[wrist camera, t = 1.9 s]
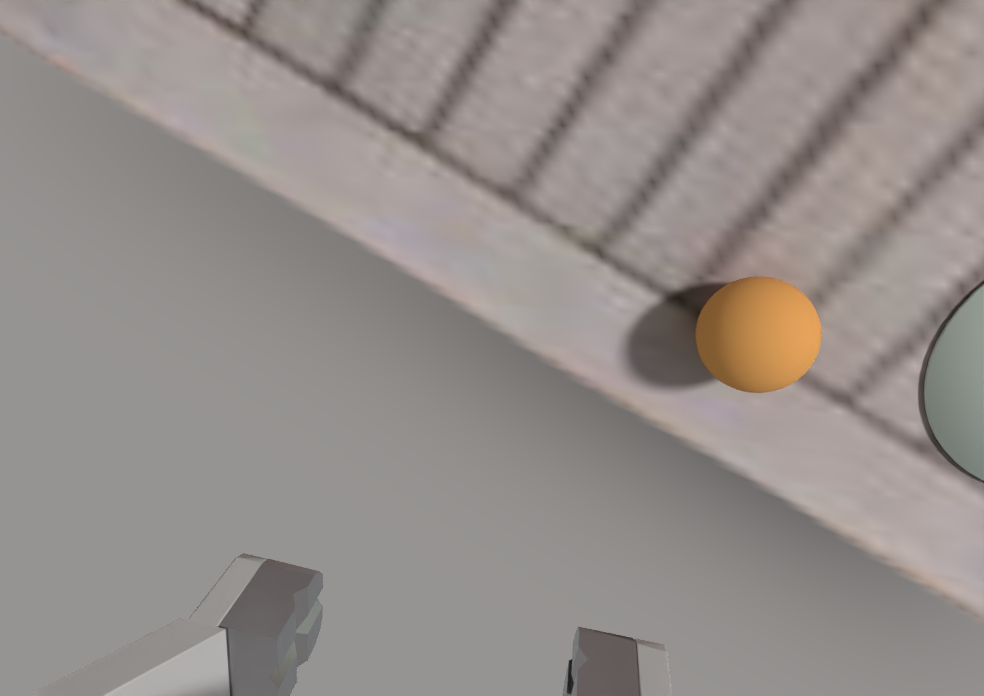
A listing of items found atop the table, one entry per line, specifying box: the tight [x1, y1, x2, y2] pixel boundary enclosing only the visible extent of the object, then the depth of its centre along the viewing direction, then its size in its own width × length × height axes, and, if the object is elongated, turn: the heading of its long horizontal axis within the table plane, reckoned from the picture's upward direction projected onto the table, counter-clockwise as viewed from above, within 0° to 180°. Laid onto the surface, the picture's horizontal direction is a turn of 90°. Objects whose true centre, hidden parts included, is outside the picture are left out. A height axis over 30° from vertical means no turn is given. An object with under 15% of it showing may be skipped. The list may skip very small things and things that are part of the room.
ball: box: [696, 277, 821, 393], centre depth 27 cm, size 5×5×5 cm
